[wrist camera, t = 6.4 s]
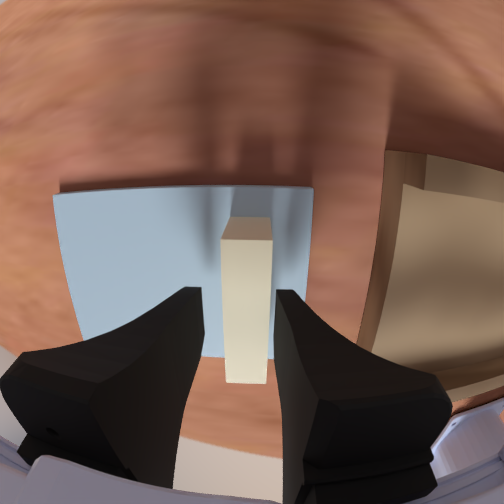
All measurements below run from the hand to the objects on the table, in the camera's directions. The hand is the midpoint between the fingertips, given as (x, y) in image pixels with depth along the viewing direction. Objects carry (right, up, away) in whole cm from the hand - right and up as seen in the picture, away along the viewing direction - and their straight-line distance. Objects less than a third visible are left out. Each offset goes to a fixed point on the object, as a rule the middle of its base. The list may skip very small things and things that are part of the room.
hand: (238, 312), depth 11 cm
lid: (-3, +1, +3) cm, 5 cm away
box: (+13, +1, +2) cm, 13 cm away
